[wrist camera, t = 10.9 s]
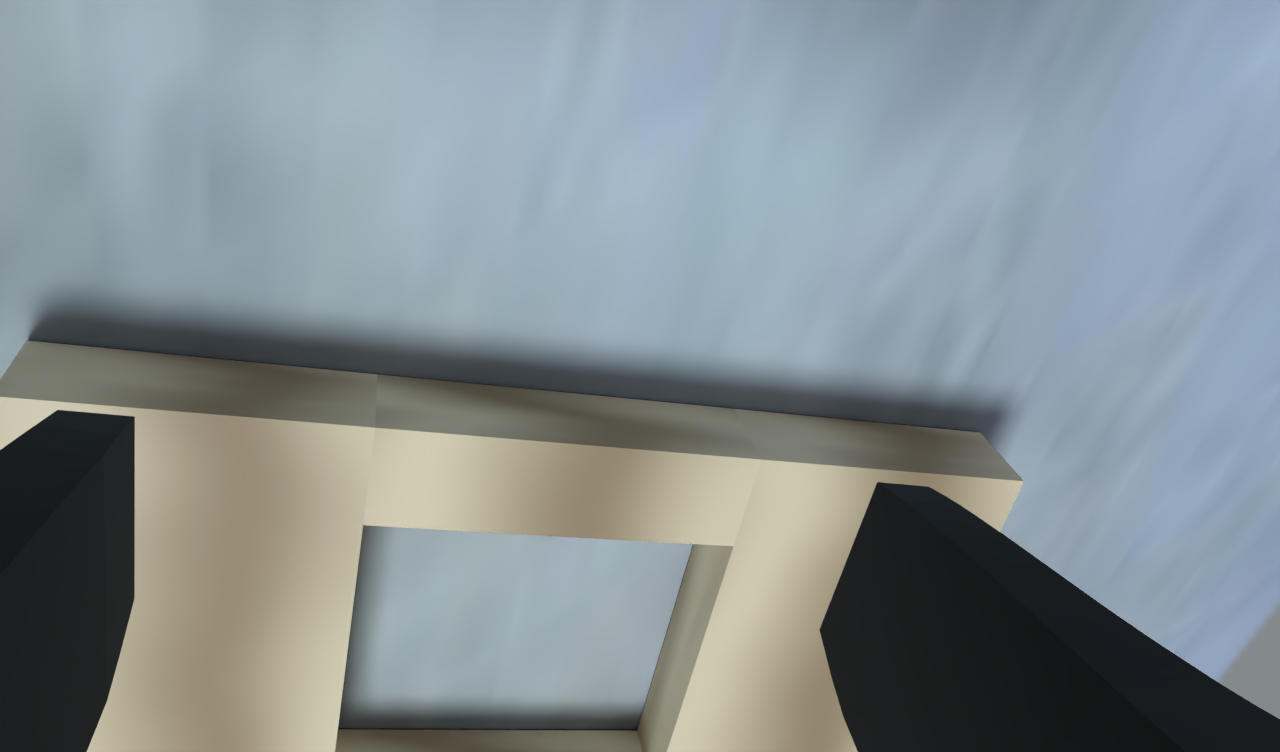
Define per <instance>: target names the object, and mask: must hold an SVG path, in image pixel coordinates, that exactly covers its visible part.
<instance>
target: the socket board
mask: <svg viewBox="0 0 1280 752" xmlns="http://www.w3.org/2000/svg"><path fill="white" fill-rule="evenodd" d="M57 410H66V411H77V412H89V413H100V414H111V415H123V416H134V417H135V599H134V602H133V606H132V610H131V614H130V618H129V622H128V626H127V629H126V633H125V637H124V641H123V645H122V649H121V652H120V656H119V660H118V663H117V667H116V671H115V674H114V678H113V681H112V685H111V689H110V692H109V696H108V699H107V702H106V705H105V707H104V710H103V712H102V715H101V717H100V720H99V723H98V725H97V728H96V730H95V732H94V735H93V737H92V740H91V742H90V745H89V747H88V750H87V752H858V751H857V749H856V746H855V744H854V742H853V739H852V737H851V734H850V732H849V729H848V727H847V725H846V722H845V720H844V717H843V714H842V711H841V707H840V704H839V701H838V697H837V694H836V691H835V687H834V684H833V681H832V677H831V673H830V669H829V666H828V662H827V658H826V654H825V650H824V646H823V642H822V638H821V634H820V630H819V629H820V627H821V624H822V622H823V619H824V617H825V614H826V612H827V609H828V607H829V604H830V601H831V599H832V596H833V594H834V591H835V589H836V586H837V584H838V581H839V578H840V576H841V573H842V571H843V568H844V566H845V563H846V561H847V558H848V556H849V553H850V550H851V548H852V545H853V543H854V540H855V538H856V535H857V533H858V530H859V528H860V525H861V522H862V520H863V517H864V515H865V512H866V510H867V507H868V505H869V502H870V499H871V497H872V494H873V492H874V489H875V487H876V484H877V482H882V483H893V484H905V485H916V486H927V487H930V488H932V489H934V490H936V491H937V492H939V493H941V494H943V495H944V496H946V497H948V498H950V499H951V500H953V501H954V502H956V503H958V504H959V505H961V506H962V507H964V508H965V509H967V510H968V511H970V512H971V513H973V514H974V515H976V516H977V517H979V518H980V519H982V520H983V521H985V522H986V523H987V524H989V525H990V526H992V527H993V528H995V529H996V530H998V531H999V532H1001V529H1002V527H1003V525H1004V523H1005V521H1006V519H1007V517H1008V514H1009V512H1010V510H1011V508H1012V506H1013V504H1014V502H1015V499H1016V497H1017V495H1018V493H1019V491H1020V489H1021V486H1022V484H1023V482H1024V481H1023V480H1022V479H1021V477H1020V476H1019V475H1018V474H1017V473H1016V472H1015V471H1014V470H1013V469H1012V467H1011V466H1010V465H1009V464H1008V463H1007V462H1006V461H1005V460H1004V458H1003V457H1002V456H1001V455H1000V454H999V453H998V452H997V451H996V450H995V448H994V447H993V446H992V445H991V444H990V443H989V442H988V441H987V439H986V438H985V437H984V436H983V435H982V434H981V433H980V432H970V431H959V430H949V429H938V428H928V427H918V426H907V425H897V424H887V423H876V422H866V421H856V420H845V419H835V418H824V417H814V416H804V415H793V414H783V413H773V412H762V411H752V410H741V409H731V408H721V407H710V406H700V405H690V404H679V403H669V402H659V401H648V400H638V399H627V398H617V397H607V396H596V395H586V394H576V393H565V392H555V391H545V390H534V389H524V388H513V387H503V386H493V385H482V384H472V383H462V382H451V381H441V380H431V379H420V378H410V377H399V376H389V375H379V374H368V373H358V372H348V371H337V370H327V369H316V368H306V367H296V366H285V365H275V364H265V363H254V362H244V361H234V360H223V359H213V358H202V357H192V356H182V355H171V354H161V353H151V352H140V351H130V350H120V349H109V348H99V347H88V346H78V345H68V344H57V343H47V342H37V341H26V342H25V344H24V345H23V347H22V348H21V350H20V351H19V353H18V354H17V356H16V357H15V359H14V360H13V362H12V363H11V365H10V366H9V368H8V369H7V371H6V372H5V374H4V375H3V377H2V378H1V380H0V450H1V449H2V448H4V447H5V446H6V445H8V444H9V443H11V442H12V441H13V440H15V439H16V438H18V437H19V436H20V435H22V434H23V433H25V432H26V431H28V430H29V429H31V428H32V427H33V426H35V425H36V424H38V423H39V422H41V421H42V420H44V419H45V418H46V417H48V416H49V415H51V414H52V413H54V412H55V411H57ZM363 525H368V526H385V527H403V528H420V529H438V530H455V531H473V532H491V533H508V534H526V535H543V536H561V537H578V538H596V539H613V540H631V541H648V542H666V543H684V544H693V548H692V551H691V554H690V558H689V561H688V564H687V567H686V571H685V574H684V577H683V581H682V584H681V587H680V591H679V594H678V597H677V600H676V604H675V607H674V610H673V614H672V617H671V620H670V624H669V627H668V630H667V633H666V637H665V640H664V643H663V647H662V650H661V653H660V657H659V660H658V663H657V666H656V670H655V673H654V676H653V680H652V683H651V686H650V690H649V693H648V696H647V699H646V703H645V706H644V709H643V713H642V716H641V719H640V722H639V726H638V729H637V731H618V730H369V729H338V724H339V716H340V708H341V700H342V692H343V684H344V676H345V668H346V660H347V652H348V644H349V635H350V627H351V619H352V611H353V603H354V595H355V587H356V579H357V571H358V563H359V555H360V547H361V539H362V531H363Z"/></svg>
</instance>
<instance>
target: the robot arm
mask: <svg viewBox="0 0 1280 752" xmlns="http://www.w3.org/2000/svg"><path fill="white" fill-rule="evenodd" d="M134 599H135V417H134V416H123V415H111V414H100V413H89V412H77V411H66V410H57V411H55V412H54V413H52V414H51V415H49V416H48V417H46V418H45V419H44V420H42V421H41V422H39V423H38V424H36V425H35V426H33V427H32V428H31V429H29V430H28V431H26V432H25V433H23V434H22V435H20V436H19V437H18V438H16V439H15V440H13V441H12V442H11V443H9V444H8V445H6V446H5V447H4V448H2V449H1V450H0V752H87V750H88V747H89V745H90V742H91V740H92V737H93V735H94V732H95V730H96V728H97V725H98V723H99V720H100V717H101V715H102V712H103V710H104V707H105V705H106V702H107V699H108V696H109V692H110V689H111V685H112V681H113V678H114V674H115V671H116V667H117V663H118V660H119V656H120V652H121V649H122V645H123V641H124V637H125V633H126V629H127V626H128V622H129V618H130V614H131V610H132V606H133V602H134ZM819 630H820V634H821V638H822V642H823V646H824V650H825V654H826V658H827V662H828V666H829V669H830V673H831V677H832V681H833V684H834V687H835V691H836V694H837V697H838V701H839V704H840V707H841V711H842V714H843V717H844V720H845V722H846V725H847V727H848V729H849V732H850V734H851V737H852V739H853V742H854V744H855V746H856V749H857V751H858V752H1280V719H1278V718H1276V717H1275V716H1273V715H1271V714H1269V713H1268V712H1266V711H1264V710H1262V709H1261V708H1259V707H1257V706H1256V705H1254V704H1252V703H1251V702H1249V701H1247V700H1246V699H1244V698H1242V697H1241V696H1239V695H1237V694H1236V693H1234V692H1233V691H1231V690H1229V689H1228V688H1226V687H1224V686H1223V685H1221V684H1220V683H1218V682H1216V681H1215V680H1213V679H1212V678H1210V677H1209V676H1207V675H1206V674H1204V673H1202V672H1201V671H1199V670H1198V669H1196V668H1195V667H1193V666H1192V665H1190V664H1189V663H1187V662H1186V661H1184V660H1183V659H1181V658H1180V657H1178V656H1176V655H1175V654H1173V653H1172V652H1170V651H1169V650H1167V649H1166V648H1164V647H1163V646H1161V645H1160V644H1158V643H1157V642H1155V641H1154V640H1152V639H1151V638H1149V637H1148V636H1146V635H1145V634H1143V633H1142V632H1140V631H1139V630H1137V629H1136V628H1134V627H1133V626H1132V625H1130V624H1129V623H1127V622H1126V621H1124V620H1123V619H1121V618H1120V617H1118V616H1117V615H1116V614H1114V613H1113V612H1111V611H1110V610H1108V609H1107V608H1106V607H1104V606H1103V605H1101V604H1100V603H1098V602H1097V601H1096V600H1094V599H1093V598H1091V597H1090V596H1089V595H1087V594H1086V593H1084V592H1083V591H1082V590H1080V589H1079V588H1077V587H1076V586H1075V585H1073V584H1072V583H1070V582H1069V581H1068V580H1066V579H1065V578H1063V577H1062V576H1061V575H1059V574H1058V573H1056V572H1055V571H1054V570H1052V569H1051V568H1049V567H1048V566H1047V565H1045V564H1044V563H1042V562H1041V561H1040V560H1038V559H1037V558H1035V557H1034V556H1033V555H1031V554H1030V553H1028V552H1027V551H1026V550H1024V549H1023V548H1022V547H1020V546H1019V545H1017V544H1016V543H1015V542H1013V541H1012V540H1010V539H1009V538H1008V537H1006V536H1005V535H1003V534H1002V533H1000V532H999V531H998V530H996V529H995V528H993V527H992V526H990V525H989V524H987V523H986V522H985V521H983V520H982V519H980V518H979V517H977V516H976V515H974V514H973V513H971V512H970V511H968V510H967V509H965V508H964V507H962V506H961V505H959V504H958V503H956V502H954V501H953V500H951V499H950V498H948V497H946V496H944V495H943V494H941V493H939V492H937V491H936V490H934V489H932V488H930V487H927V486H916V485H905V484H893V483H882V482H877V484H876V487H875V489H874V492H873V494H872V497H871V499H870V502H869V505H868V507H867V510H866V512H865V515H864V517H863V520H862V522H861V525H860V528H859V530H858V533H857V535H856V538H855V540H854V543H853V545H852V548H851V550H850V553H849V556H848V558H847V561H846V563H845V566H844V568H843V571H842V573H841V576H840V578H839V581H838V584H837V586H836V589H835V591H834V594H833V596H832V599H831V601H830V604H829V607H828V609H827V612H826V614H825V617H824V619H823V622H822V624H821V627H820V629H819Z"/></svg>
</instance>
